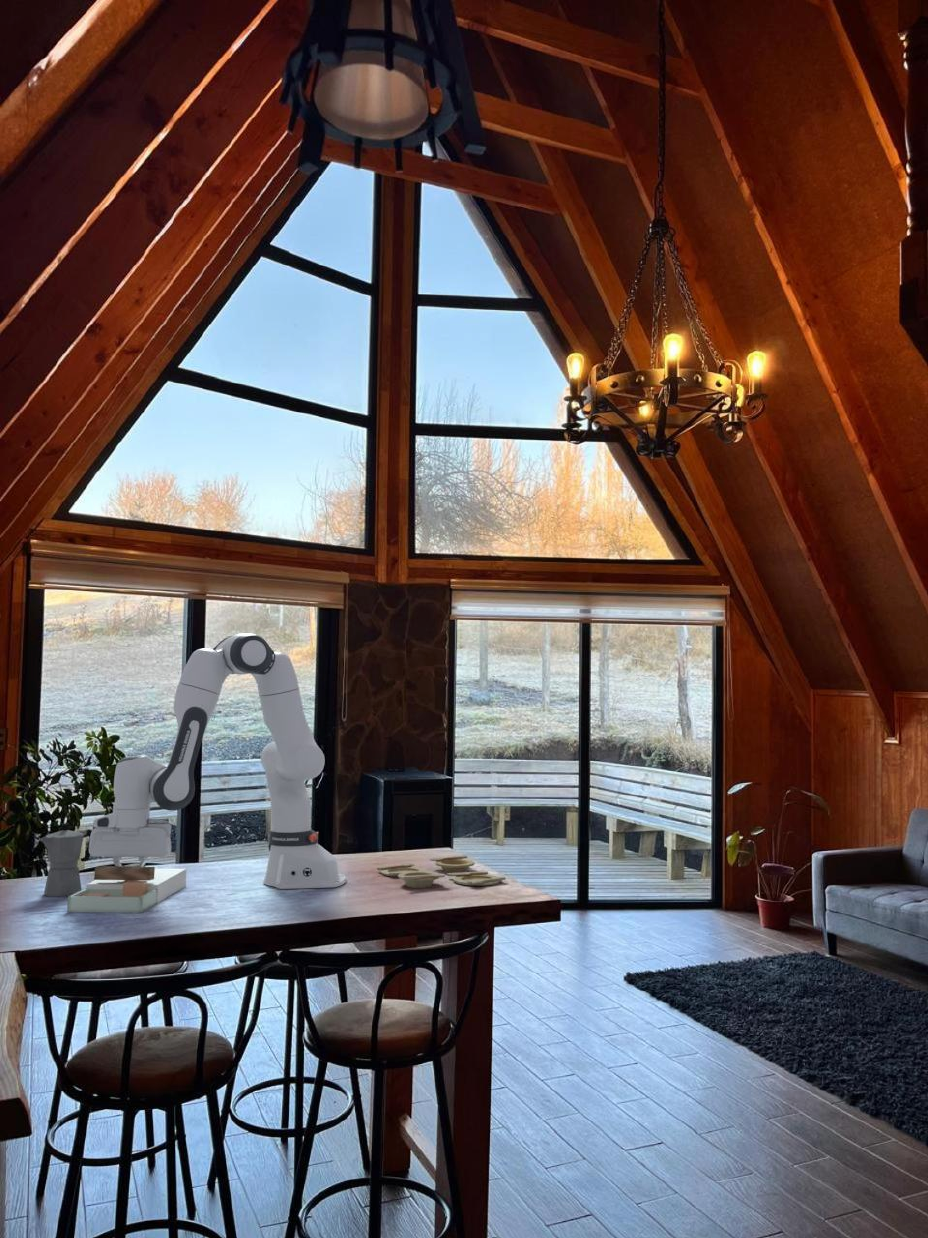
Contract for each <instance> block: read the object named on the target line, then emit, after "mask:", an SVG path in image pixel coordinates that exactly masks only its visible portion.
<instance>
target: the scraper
mask: <svg viewBox="0 0 928 1238" xmlns="http://www.w3.org/2000/svg"><path fill="white" fill-rule="evenodd" d="M139 864H140V863H130V864H126V865H122V866H115V865H114V866H112V865H111V866H110V865H108V866H107V865H104V866H103V865H98V866H96V867H94V874H93V875H94V876H93V877H94V878H93V879H94V880H153V879H154V872H155V869H156V867H155V866H146V863H145V864H144V866H143V867H138V866H139ZM94 880H93V881H94Z"/></svg>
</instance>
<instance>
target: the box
mask: <svg viewBox="0 0 928 1238" xmlns="http://www.w3.org/2000/svg"><path fill="white" fill-rule="evenodd" d="M87 893H109V897H88V896H83V895H85V894H87ZM157 893H158V889H147V893H146V894H145V895H143V896H141V897H123V889H114V888H86V887H85V888H83V889H82V890H81V891H79V892H77V893H75V894H73V895H71V896H67V900H66V901H67V903H66V905H67V906H66V907H67V908H66V911H67V913H106V914H108V913H110V914H111V913H113V914H115V913H116V914H117V913H118V914H119V913H120V914H124V913H126V914H127V913H129V914H130V913H131V914H142V913H143V912H144V913H145V912H146V911H147V910H149V909H150V908H152V907H154V906H156V905H157V904H158V903H157Z"/></svg>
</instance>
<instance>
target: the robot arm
mask: <svg viewBox="0 0 928 1238" xmlns="http://www.w3.org/2000/svg"><path fill="white" fill-rule="evenodd" d="M181 673H182V674H181V675H180V678H179V681H178V684H177V687H176V690H175V695H174V698H173V699H174V701H173V713H174V715H175V718H176V723H177V731H176V732H177V733H176V737H175V741H174V744H173V748H172V751H171V755H170V757H169V758H170V759H169V762H168V764H164V763H162V762H159V761H157V760H155V759H154V758H151V757H150V756H149V755H147V754H145V753H144V754H141V753H140V754H134V755H129V756H126V757H122V758H121V759H120V760H119V761H118V762H117V763H116V766H115V771H114V780H113V794H114V803H113V806H112V812H111V813H107V814H105V815H102V816H99V817H97V818H95V819H93V821H92V824H93V825H92V826H93V827H94V828H93V829H91V830H92V832H91V835H90V837H89V838H90V841H89V840H88V841H89V853H90V857H105V858H106V857H109V858H110V857H111V858H112V862H113V864H114V866H123V865H122V862H121V860H122V857H123V858H125V857H128V858H135V857H136V858H138V861H139V863H138V864H139V866H138V867H143V866H144V864H145V865H146V862H147V860H148V858H165V857H167V856H169V855H170V854H171V852H172V839H171V835H172V824H171V823H170V822H169V821H167V820H166V819H157V818H152V819H151V818H150V813H151V811H150V810H151V809H150V807H151V803H156V805H158V806H159V807H160V808H161V809H164V810H167V811H171V812H173V811H179V810H181V809H185V807H187V806H188V805H189V804H190V803H191V802H192V800H193V798H194V797H195V792H196V781H195V767H196V764H197V759H198V757H199V752H200V749H201V745H202V743H203V738H204V736H205V731H206V729H207V727H208V725H209V722H210V721H211V718H212V716H213V714H214V711H215V709H216V706H217V703H218V701H219V698H220V694H221V692H222V689H223V684H224V682H225V681H226V679H227V678H228V677H229V676H230V675H247V674H250V675H251V676H252V677H253V678H254V680H255V682H256V685H257V690H258V695H259V696H258V697H259V703H260V707H261V711H262V716H263V723H264V725H265V727H266V728H267V729H268V731H269V732H270V734H271V736H272V738H273V741H271V742H269V743H267V744H266V745H265V746H264V747H263V749H262V751H261V754H260V764H261V767H262V768H263V770H264V773H265V777H266V782H267V789H268V792H269V799H270V830H269V831H268V836H267V837H268V838H267V847H268V860H267V867H266V871H265V876H264V879H263V885H267V886H269V887H275V888H277V889H280V890H281V889H282V890H285V889H290V890H291V889H317V888H318V889H320V888H321V889H322V888H324V889H325V888H337V887H341V886H342V885H344V884H345V883H347V876H346V875H345V874H341V873H339V872H340V871H339V865H338V862H337V859H336V857H335V856H334V855H333V854H332V853H331V852H329V851H328V850H326V849H325V848H324V847H323V846H322V845H320V844H319V843H318V842H319V831H315V830H313V829H312V827H311V826H312V801H311V798H310V795H309V794H308V791H307V787H306V781H310V780H312V779H315V778H317V777H318V776H319V775H320V774H321V773H322V772H323V770H324V766H325V764H326V763H325V762H326V761H325V760H326V759H325V754H324V753H323V751H322V749H321V748H320V747H319V745H318V744H317V742H316V740H315V738H314V736H313V733H312V731H311V729H310V726H309V724H308V722H307V721H308V720H307V718H306V715H305V712H304V711H305V710H304V707H303V703H302V697H301V692H300V685H299V682H298V677H297V674H296V670H295V668H294V666H293V662H292V661H291V658H290V657H289V655H287V654H286V653H284V652H280V651H274V649H273V648H271V646H270V645H269V644H268V642H267V641H266V640H265V639H264V638H263V637H262V636H260V635H258V634H257V633H251V632H250V633H249V632H248V633H246V632H245V633H244V632H242V633H241V632H240V633H236V634H233V635H231V636H227V637H225V638H224V639H222V640H221V641H220V642H219V643H218V644H216V646H214V647H213V648H207V647H206V648H198V649H196V650H195V651H193V652H192V654H191V655H190V657H189V659H188V661H187V662H186V664H185V666H184V669H183V670H182V672H181Z"/></svg>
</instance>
